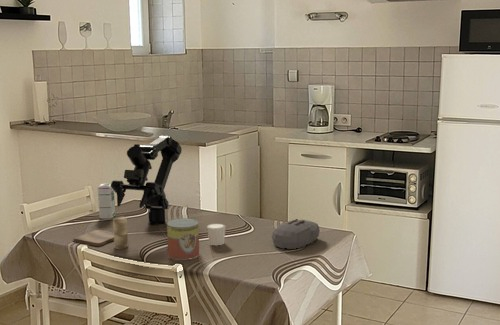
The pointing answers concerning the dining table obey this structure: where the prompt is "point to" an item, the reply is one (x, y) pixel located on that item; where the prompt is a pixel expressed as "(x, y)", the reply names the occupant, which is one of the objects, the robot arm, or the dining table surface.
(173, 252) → the canned food
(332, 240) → the dining table surface
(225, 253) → the dining table surface
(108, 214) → the white plastic bottle
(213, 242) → the white short cylinder
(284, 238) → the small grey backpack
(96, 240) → the walnut board
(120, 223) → the birch peg
